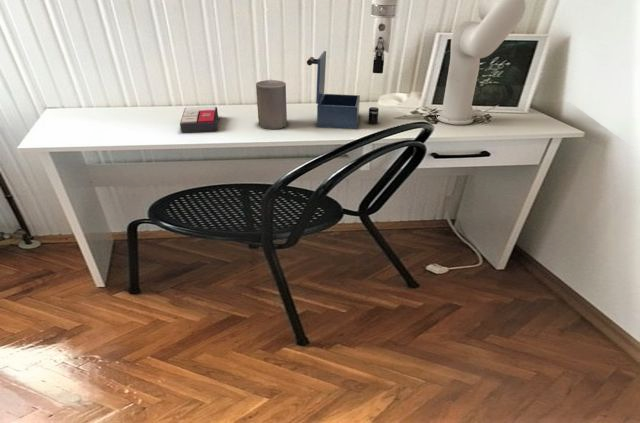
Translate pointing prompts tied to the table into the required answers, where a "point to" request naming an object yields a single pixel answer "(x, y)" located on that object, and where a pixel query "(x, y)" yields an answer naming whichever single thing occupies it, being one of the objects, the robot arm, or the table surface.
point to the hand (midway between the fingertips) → (377, 69)
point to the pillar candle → (271, 104)
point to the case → (338, 111)
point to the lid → (319, 74)
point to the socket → (373, 115)
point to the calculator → (199, 119)
